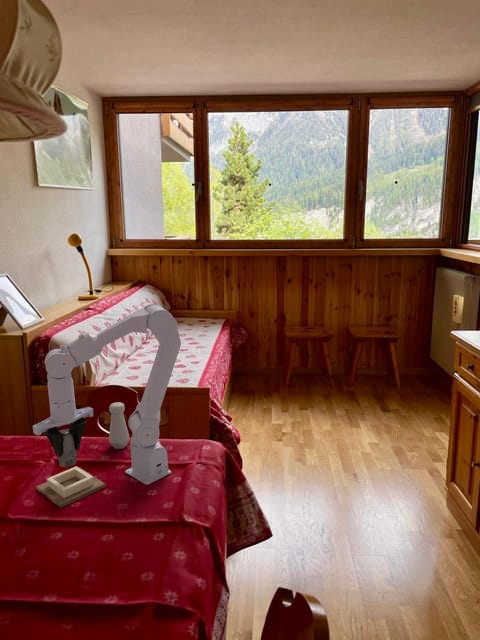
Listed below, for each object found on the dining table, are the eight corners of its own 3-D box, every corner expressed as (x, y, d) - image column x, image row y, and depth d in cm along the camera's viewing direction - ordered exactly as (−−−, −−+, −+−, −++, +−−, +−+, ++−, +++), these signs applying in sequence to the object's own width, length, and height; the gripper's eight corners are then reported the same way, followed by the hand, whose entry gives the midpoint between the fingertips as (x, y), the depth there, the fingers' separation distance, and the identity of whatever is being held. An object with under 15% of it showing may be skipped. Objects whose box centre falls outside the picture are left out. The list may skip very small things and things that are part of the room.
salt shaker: (127, 450, 143) (124, 407, 140) (107, 450, 143) (103, 408, 140) (131, 441, 149) (128, 400, 146) (112, 441, 149) (109, 400, 146)
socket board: (105, 486, 125) (104, 476, 124) (60, 508, 116) (59, 497, 115) (80, 470, 133) (79, 460, 132) (36, 489, 124) (35, 479, 123)
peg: (79, 462, 123) (76, 432, 121) (63, 468, 120) (60, 437, 118) (72, 457, 126) (69, 427, 124) (56, 462, 123) (53, 432, 121)
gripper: (80, 387, 127) (85, 436, 130) (24, 404, 117) (30, 457, 120) (96, 394, 122) (100, 445, 125) (38, 412, 112) (45, 467, 115)
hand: (67, 451), depth 122 cm, fingers closed on peg, 4 cm apart
